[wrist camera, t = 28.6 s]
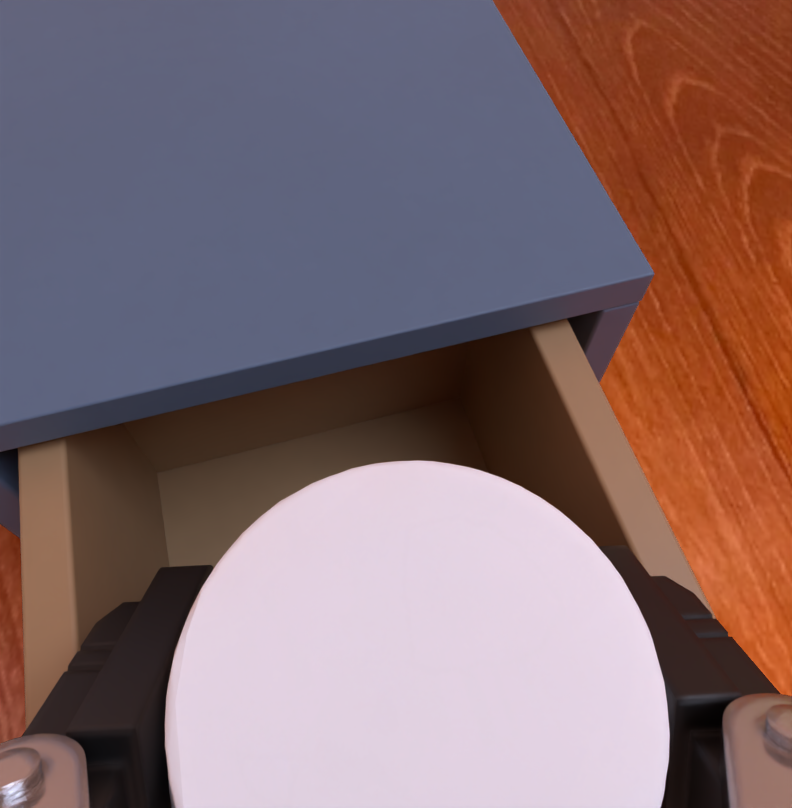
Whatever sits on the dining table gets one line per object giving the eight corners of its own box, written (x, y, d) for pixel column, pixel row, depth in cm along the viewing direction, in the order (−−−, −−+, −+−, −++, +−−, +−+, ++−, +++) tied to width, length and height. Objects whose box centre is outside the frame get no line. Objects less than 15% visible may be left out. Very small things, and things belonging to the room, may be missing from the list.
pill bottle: (582, 867, 13) (931, 968, 5) (300, 981, 12) (102, 1353, 4) (478, 589, 16) (581, 331, 7) (237, 667, 15) (36, 477, 6)
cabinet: (548, 486, 21) (656, 273, 12) (111, 606, 19) (-108, 449, 11) (407, 152, 28) (415, -130, 19) (76, 216, 26) (-73, -65, 18)
